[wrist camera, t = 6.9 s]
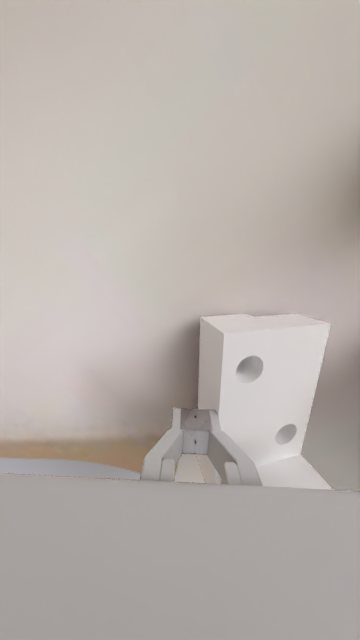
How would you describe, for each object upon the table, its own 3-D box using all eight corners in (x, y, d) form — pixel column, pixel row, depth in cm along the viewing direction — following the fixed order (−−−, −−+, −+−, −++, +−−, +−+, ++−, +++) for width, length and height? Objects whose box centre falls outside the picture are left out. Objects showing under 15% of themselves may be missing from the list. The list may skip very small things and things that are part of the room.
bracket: (264, 439, 18) (351, 551, 11) (196, 456, 16) (245, 603, 9) (285, 310, 14) (435, 352, 7) (200, 316, 13) (285, 377, 5)
